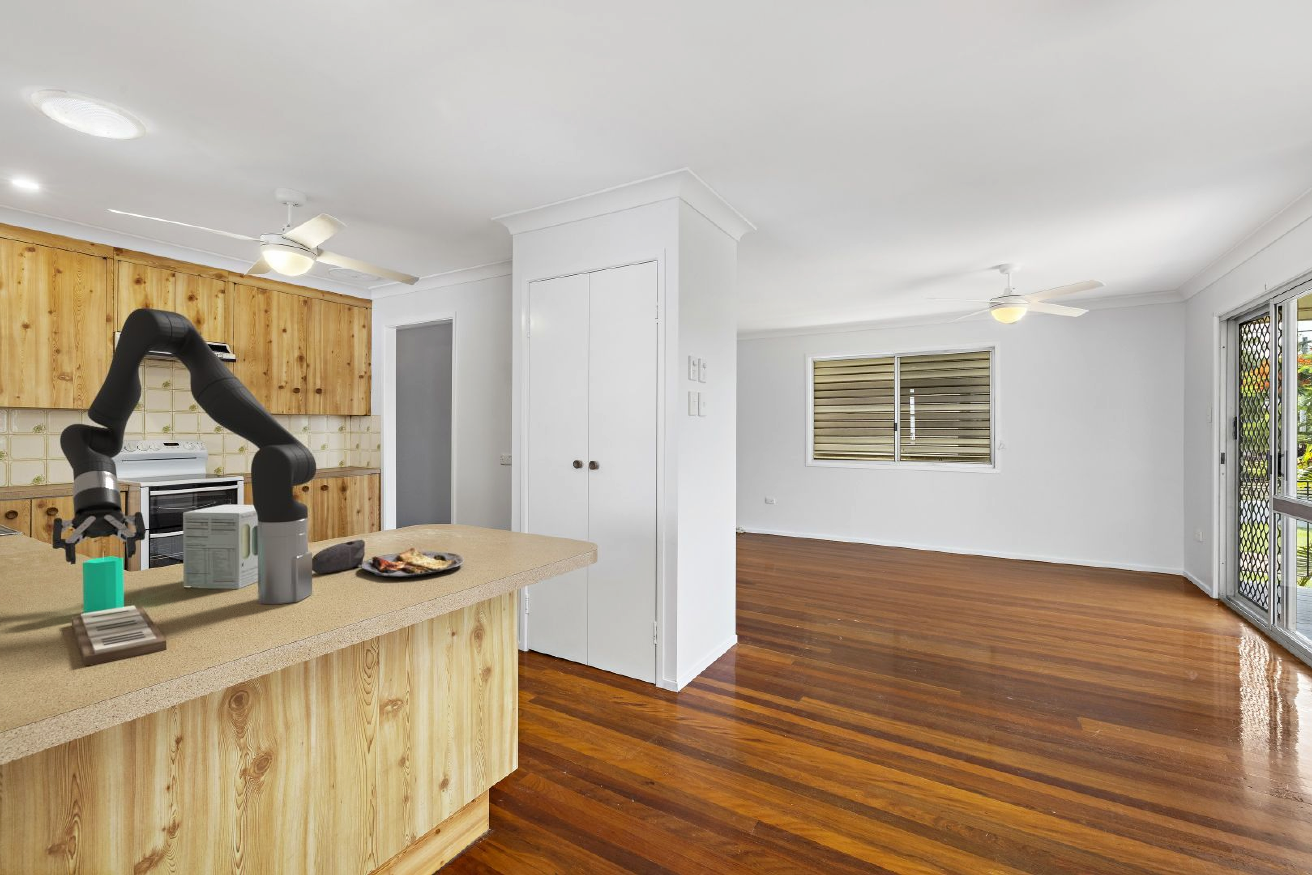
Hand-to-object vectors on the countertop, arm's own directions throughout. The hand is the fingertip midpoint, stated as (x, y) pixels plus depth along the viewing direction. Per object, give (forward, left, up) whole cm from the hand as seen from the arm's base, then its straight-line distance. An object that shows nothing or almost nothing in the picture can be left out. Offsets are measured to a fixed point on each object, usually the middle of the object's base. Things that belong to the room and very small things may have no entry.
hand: (102, 558), depth 124 cm
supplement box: (-12, -20, -10) cm, 26 cm away
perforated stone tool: (-32, -31, -10) cm, 46 cm away
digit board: (-16, +17, -10) cm, 26 cm away
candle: (-2, +3, -10) cm, 11 cm away
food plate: (-50, -33, -10) cm, 61 cm away
